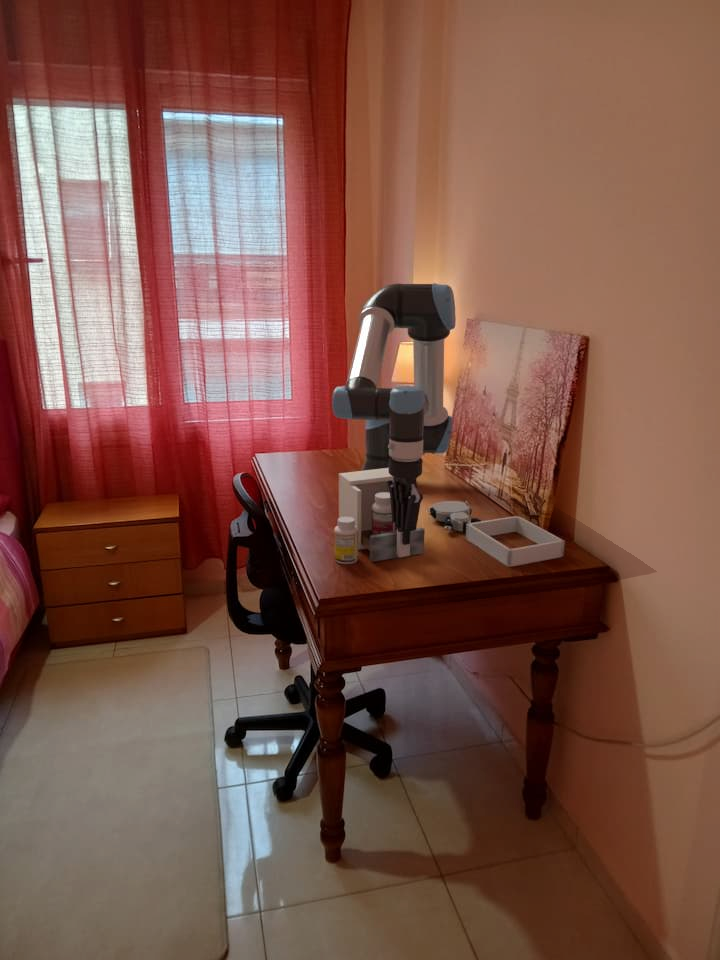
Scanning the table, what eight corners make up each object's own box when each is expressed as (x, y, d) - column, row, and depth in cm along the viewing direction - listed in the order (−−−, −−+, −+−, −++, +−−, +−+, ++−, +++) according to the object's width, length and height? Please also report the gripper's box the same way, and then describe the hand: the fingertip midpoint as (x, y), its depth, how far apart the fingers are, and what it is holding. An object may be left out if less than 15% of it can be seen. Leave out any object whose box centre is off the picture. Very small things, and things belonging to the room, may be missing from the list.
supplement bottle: (345, 553, 163) (345, 513, 160) (363, 559, 160) (363, 518, 157) (329, 560, 159) (329, 519, 156) (347, 567, 156) (347, 525, 153)
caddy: (388, 525, 181) (389, 467, 176) (408, 541, 171) (410, 480, 166) (339, 532, 176) (338, 473, 171) (357, 550, 165) (357, 487, 161)
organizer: (516, 530, 179) (517, 515, 177) (563, 556, 162) (564, 541, 161) (465, 538, 173) (466, 523, 171) (508, 567, 156) (509, 550, 155)
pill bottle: (382, 531, 171) (383, 489, 168) (402, 537, 167) (403, 494, 164) (366, 538, 167) (366, 495, 163) (385, 544, 163) (386, 501, 159)
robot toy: (487, 535, 177) (464, 512, 191) (489, 520, 176) (466, 497, 189) (443, 540, 174) (423, 516, 188) (444, 524, 173) (424, 501, 186)
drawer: (401, 535, 173) (402, 513, 172) (423, 552, 163) (424, 529, 161) (352, 543, 168) (352, 520, 167) (371, 561, 158) (372, 537, 156)
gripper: (378, 451, 155) (376, 547, 162) (403, 466, 144) (401, 569, 151) (407, 448, 158) (404, 542, 165) (434, 463, 147) (430, 563, 154)
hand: (403, 555), depth 158 cm, fingers closed
